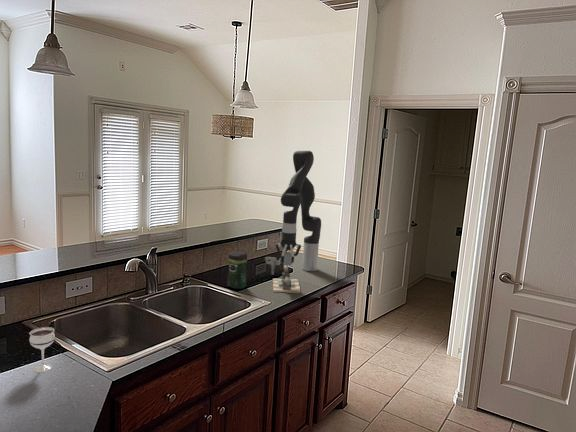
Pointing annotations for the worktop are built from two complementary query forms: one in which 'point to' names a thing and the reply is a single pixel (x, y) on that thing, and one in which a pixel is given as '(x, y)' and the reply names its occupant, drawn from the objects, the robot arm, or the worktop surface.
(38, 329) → the wineglass
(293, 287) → the shaft rig
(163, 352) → the worktop surface
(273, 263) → the mechanical component
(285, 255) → the coupling block
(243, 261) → the coffee jar
